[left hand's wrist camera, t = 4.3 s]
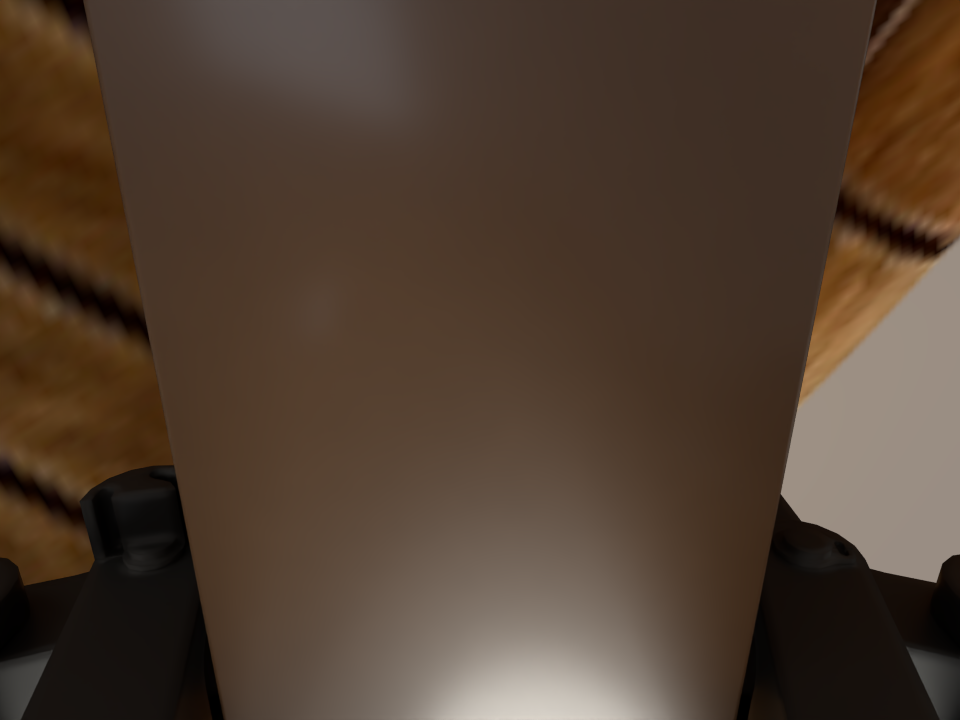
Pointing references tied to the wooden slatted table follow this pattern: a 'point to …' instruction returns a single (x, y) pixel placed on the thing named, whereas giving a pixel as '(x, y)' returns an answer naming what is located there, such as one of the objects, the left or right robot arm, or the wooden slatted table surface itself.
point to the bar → (480, 334)
